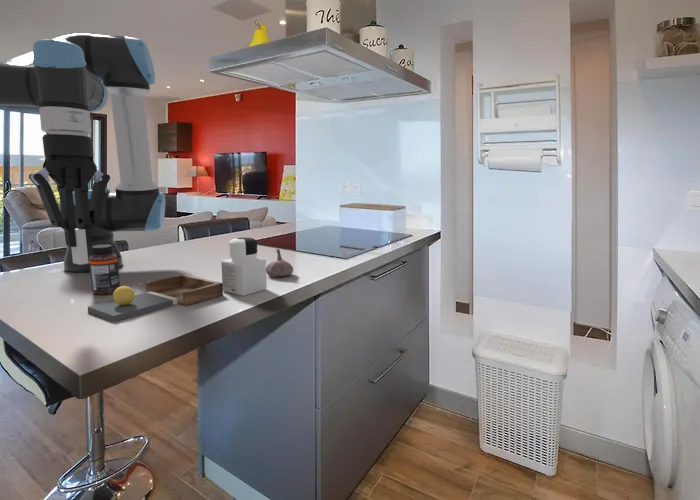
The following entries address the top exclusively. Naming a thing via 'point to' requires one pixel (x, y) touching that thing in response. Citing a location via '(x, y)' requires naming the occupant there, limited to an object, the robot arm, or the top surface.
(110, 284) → the supplement bottle
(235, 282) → the container
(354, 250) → the top surface
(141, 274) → the top surface
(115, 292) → the ball
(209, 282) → the tray
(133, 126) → the robot arm
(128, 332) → the top surface
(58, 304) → the top surface
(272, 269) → the garlic bulb
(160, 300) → the grey flat slab
